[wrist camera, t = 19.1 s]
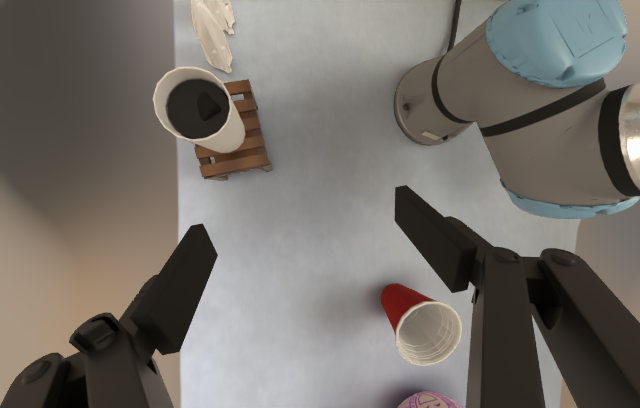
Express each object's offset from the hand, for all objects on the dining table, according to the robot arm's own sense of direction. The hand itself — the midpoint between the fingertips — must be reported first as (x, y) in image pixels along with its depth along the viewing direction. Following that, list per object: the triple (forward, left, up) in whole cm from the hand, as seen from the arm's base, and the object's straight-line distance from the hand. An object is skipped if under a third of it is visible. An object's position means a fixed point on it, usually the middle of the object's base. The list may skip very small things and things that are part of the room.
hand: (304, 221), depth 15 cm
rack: (-4, -13, -26) cm, 30 cm away
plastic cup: (+6, +28, -26) cm, 39 cm away
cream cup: (-3, -13, -17) cm, 22 cm away
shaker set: (-17, -24, -26) cm, 39 cm away
